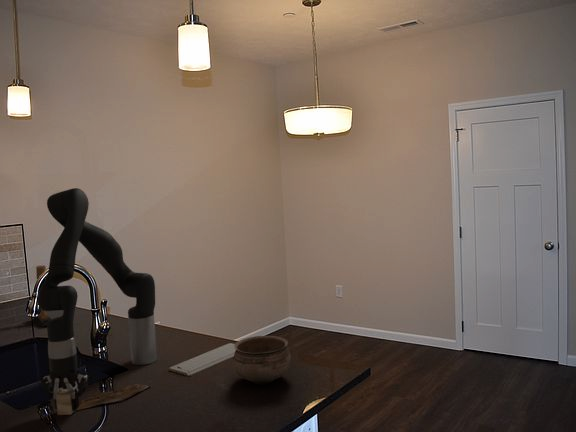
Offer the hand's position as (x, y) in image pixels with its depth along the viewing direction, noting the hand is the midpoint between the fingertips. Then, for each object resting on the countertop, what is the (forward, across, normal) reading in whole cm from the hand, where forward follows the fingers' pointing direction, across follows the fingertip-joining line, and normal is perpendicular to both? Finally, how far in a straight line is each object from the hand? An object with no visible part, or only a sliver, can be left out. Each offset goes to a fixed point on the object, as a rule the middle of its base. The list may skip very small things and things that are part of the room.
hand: (67, 409), depth 154 cm
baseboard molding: (+2, -35, -41) cm, 54 cm away
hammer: (+1, +61, -97) cm, 115 cm away
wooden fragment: (+1, -9, -9) cm, 13 cm away
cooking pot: (+1, -56, -20) cm, 60 cm away
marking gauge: (+1, 0, -4) cm, 4 cm away
